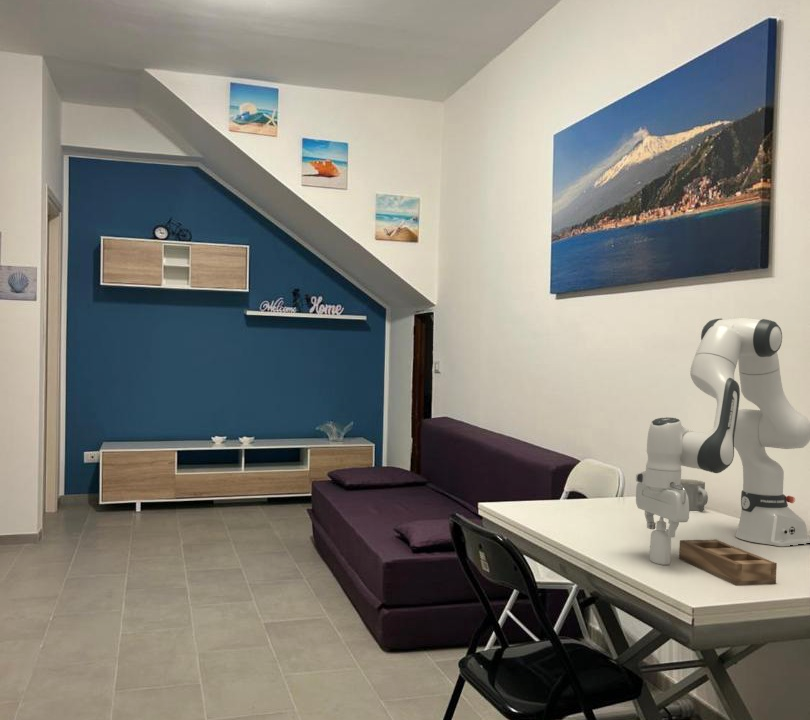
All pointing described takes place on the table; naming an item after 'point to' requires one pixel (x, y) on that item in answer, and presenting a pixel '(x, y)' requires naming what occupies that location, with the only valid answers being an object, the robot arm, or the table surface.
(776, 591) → the table surface
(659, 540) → the eye dropper bottle
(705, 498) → the coffee mug
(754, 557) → the walnut slot rail
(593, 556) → the table surface
